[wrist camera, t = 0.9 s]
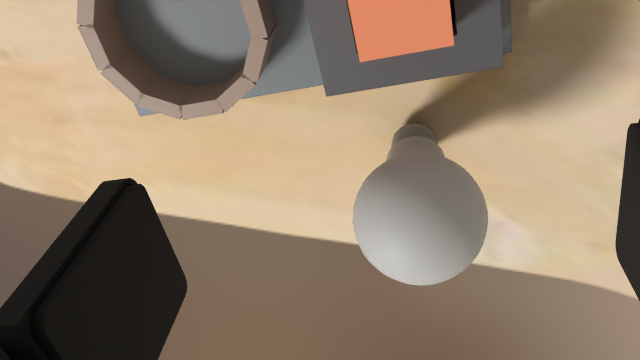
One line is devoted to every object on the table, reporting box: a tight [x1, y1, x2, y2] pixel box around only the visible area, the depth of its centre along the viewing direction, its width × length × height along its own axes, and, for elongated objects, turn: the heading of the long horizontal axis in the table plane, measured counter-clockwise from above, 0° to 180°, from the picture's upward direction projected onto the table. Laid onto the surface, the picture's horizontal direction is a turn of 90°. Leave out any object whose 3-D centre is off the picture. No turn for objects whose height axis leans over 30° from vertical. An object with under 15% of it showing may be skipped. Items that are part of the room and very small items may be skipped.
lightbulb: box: [353, 123, 488, 285], centre depth 27 cm, size 6×6×11 cm
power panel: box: [77, 0, 512, 120], centre depth 26 cm, size 21×10×5 cm, turn 103°
